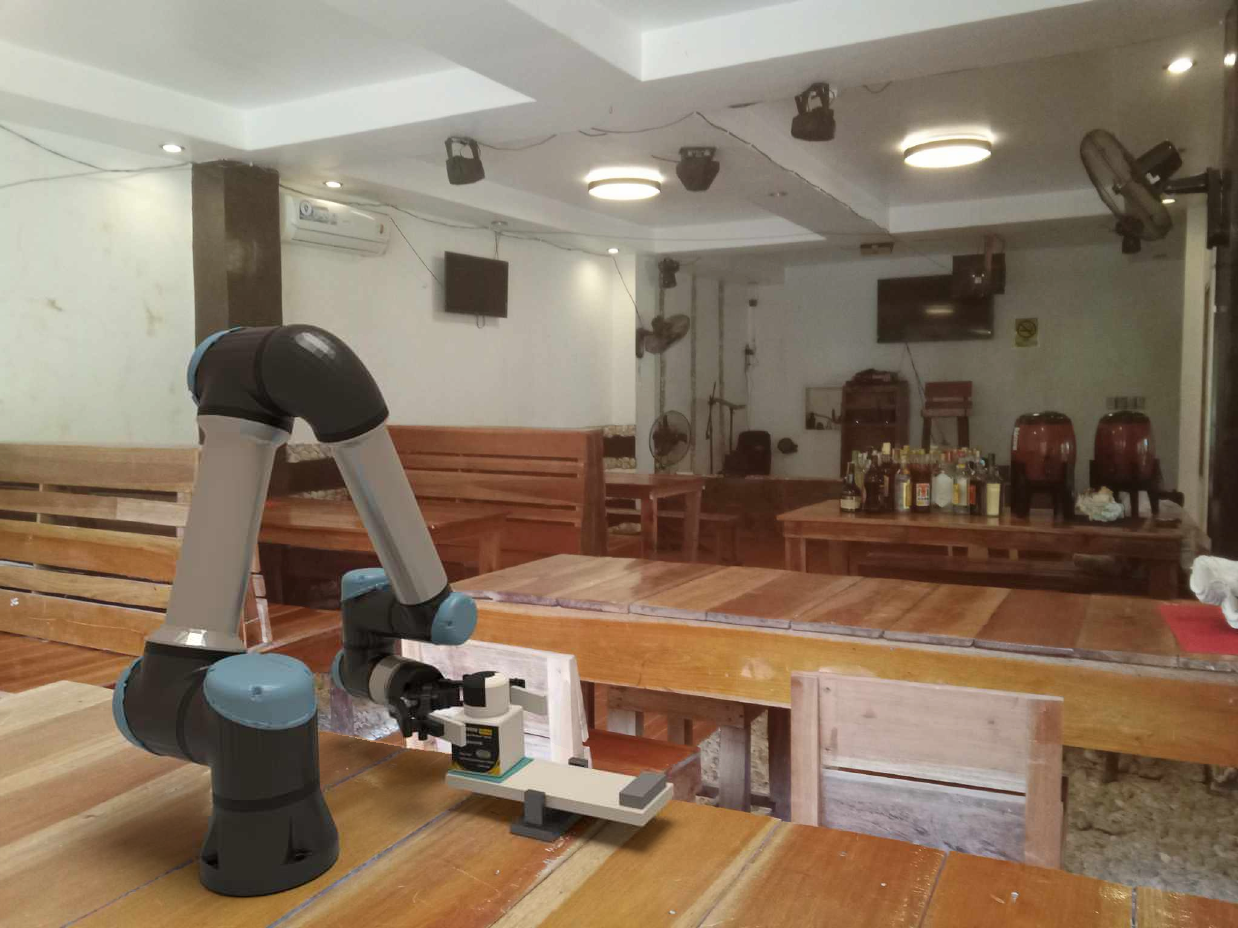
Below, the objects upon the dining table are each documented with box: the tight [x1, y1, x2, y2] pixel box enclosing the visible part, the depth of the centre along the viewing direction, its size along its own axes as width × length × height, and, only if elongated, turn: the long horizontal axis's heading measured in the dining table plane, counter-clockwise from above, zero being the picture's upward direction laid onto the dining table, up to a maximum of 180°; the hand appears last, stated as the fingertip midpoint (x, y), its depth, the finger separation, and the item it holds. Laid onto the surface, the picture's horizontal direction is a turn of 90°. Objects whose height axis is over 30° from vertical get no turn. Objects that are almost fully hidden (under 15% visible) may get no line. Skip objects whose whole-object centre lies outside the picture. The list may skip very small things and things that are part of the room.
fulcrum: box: [509, 756, 589, 843], centre depth 120 cm, size 6×13×5 cm, turn 153°
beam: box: [445, 756, 675, 827], centre depth 120 cm, size 28×9×3 cm, turn 63°
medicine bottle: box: [450, 670, 526, 777], centre depth 124 cm, size 7×7×12 cm
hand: (506, 719), depth 122 cm, fingers open, 13 cm apart
